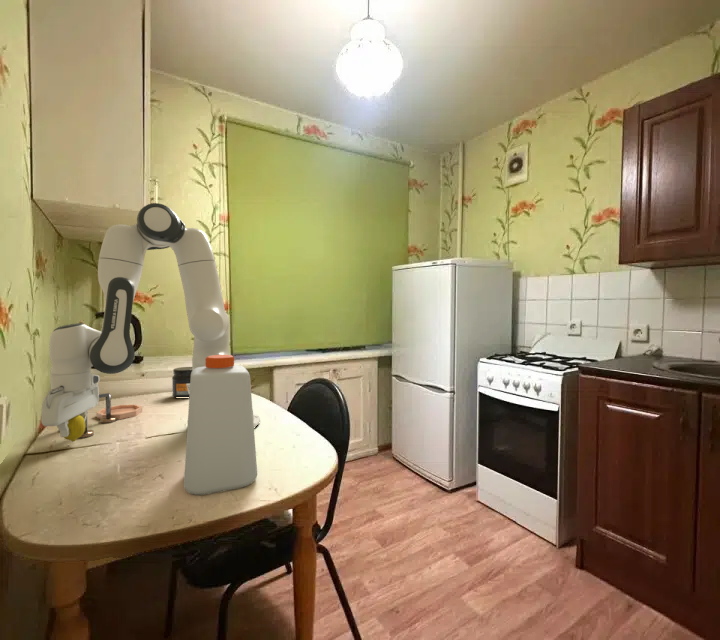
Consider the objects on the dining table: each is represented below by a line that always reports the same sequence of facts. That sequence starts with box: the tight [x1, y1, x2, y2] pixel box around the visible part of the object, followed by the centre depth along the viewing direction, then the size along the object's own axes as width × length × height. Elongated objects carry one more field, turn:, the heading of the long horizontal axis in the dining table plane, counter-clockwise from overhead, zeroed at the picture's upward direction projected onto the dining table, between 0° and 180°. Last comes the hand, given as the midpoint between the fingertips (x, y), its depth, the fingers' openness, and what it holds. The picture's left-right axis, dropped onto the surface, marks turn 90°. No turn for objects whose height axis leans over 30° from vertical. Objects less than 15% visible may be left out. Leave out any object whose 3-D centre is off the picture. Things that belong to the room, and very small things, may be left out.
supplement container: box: [171, 366, 192, 398], centre depth 160 cm, size 10×10×12 cm
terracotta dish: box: [95, 403, 143, 421], centre depth 133 cm, size 13×13×2 cm
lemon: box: [63, 415, 85, 442], centre depth 104 cm, size 6×6×8 cm
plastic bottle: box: [183, 354, 258, 496], centre depth 85 cm, size 15×15×28 cm
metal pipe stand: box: [78, 392, 117, 439], centre depth 118 cm, size 12×18×10 cm
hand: (73, 431), depth 104 cm, fingers closed on lemon, 5 cm apart
